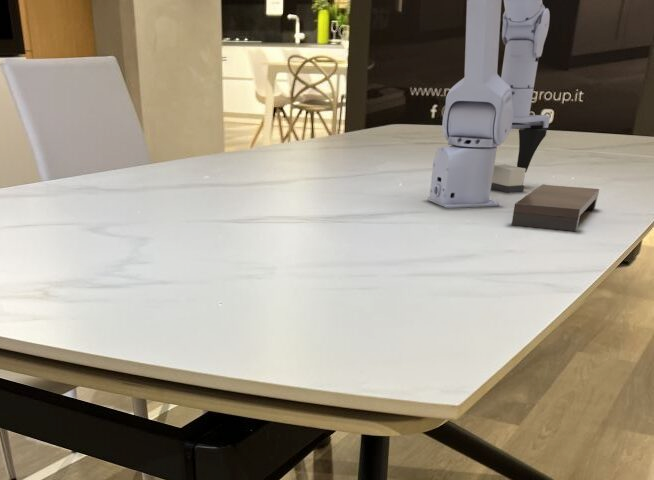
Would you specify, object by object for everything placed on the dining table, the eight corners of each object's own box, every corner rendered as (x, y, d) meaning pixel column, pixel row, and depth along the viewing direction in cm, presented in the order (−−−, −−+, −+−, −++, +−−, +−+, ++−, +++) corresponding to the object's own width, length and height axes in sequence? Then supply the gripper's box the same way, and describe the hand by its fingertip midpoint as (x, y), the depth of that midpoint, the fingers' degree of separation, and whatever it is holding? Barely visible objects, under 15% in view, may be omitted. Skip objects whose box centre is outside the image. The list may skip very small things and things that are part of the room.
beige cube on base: (523, 191, 134) (527, 168, 132) (507, 192, 133) (511, 169, 131) (495, 184, 141) (498, 163, 139) (479, 186, 139) (482, 164, 137)
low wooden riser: (575, 231, 105) (579, 209, 103) (511, 225, 109) (514, 203, 107) (595, 208, 120) (599, 188, 119) (538, 203, 124) (541, 184, 122)
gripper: (538, 86, 134) (524, 168, 141) (467, 87, 130) (457, 171, 137) (562, 88, 128) (547, 173, 135) (490, 88, 124) (478, 176, 131)
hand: (503, 172), depth 136 cm, fingers open, 7 cm apart
